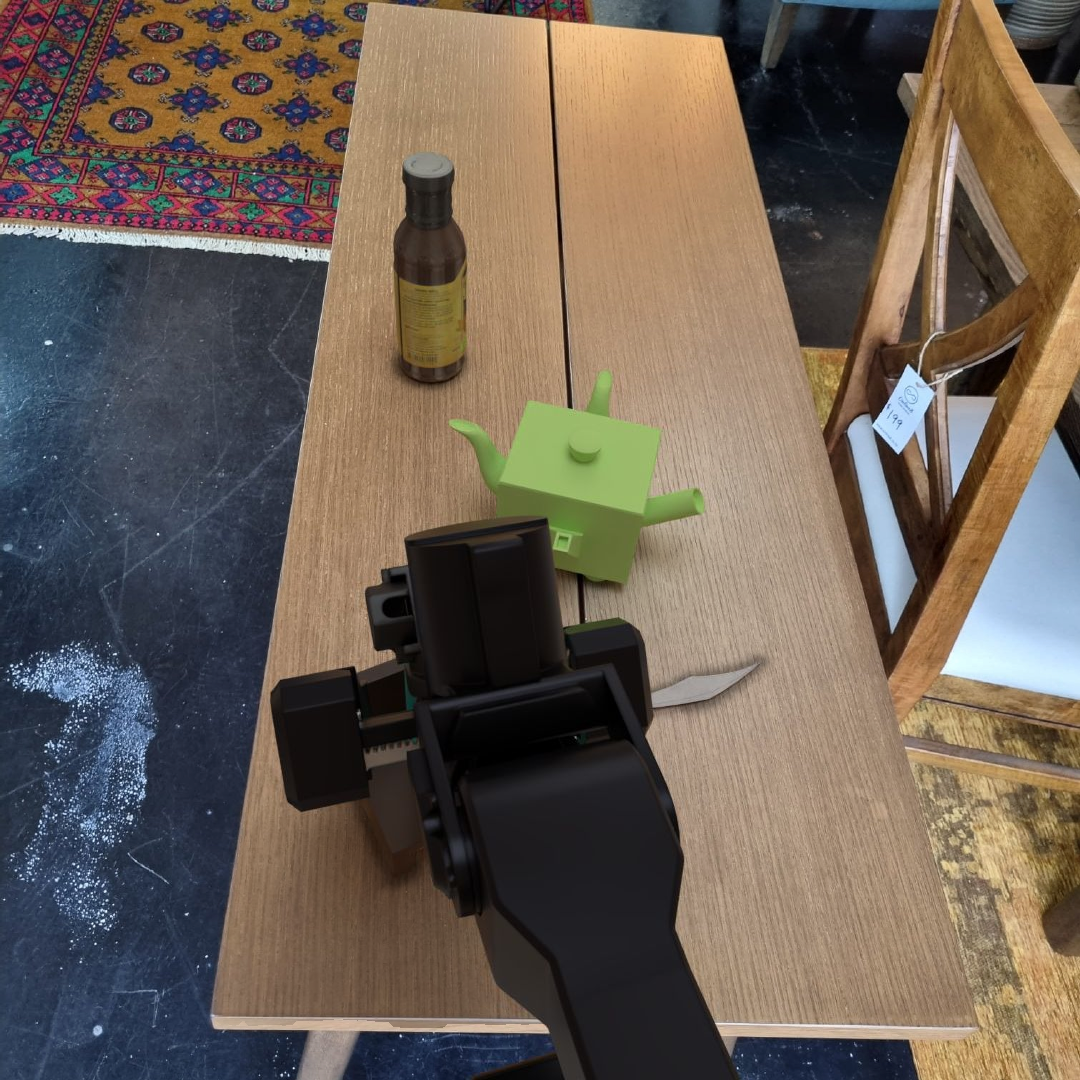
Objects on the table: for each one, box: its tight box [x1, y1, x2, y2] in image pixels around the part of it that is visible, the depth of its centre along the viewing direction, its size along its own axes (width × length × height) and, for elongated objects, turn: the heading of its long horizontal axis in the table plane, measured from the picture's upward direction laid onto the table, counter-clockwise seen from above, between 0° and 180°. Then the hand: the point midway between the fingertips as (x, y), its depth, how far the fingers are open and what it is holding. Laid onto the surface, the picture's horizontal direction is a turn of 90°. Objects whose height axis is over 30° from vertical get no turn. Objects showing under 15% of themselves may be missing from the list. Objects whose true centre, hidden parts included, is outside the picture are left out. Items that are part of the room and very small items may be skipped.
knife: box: [651, 661, 761, 709], centre depth 71 cm, size 19×2×1 cm, turn 103°
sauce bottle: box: [392, 151, 468, 383], centre depth 85 cm, size 6×6×20 cm
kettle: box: [448, 369, 706, 585], centre depth 76 cm, size 15×14×11 cm
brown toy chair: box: [356, 657, 425, 879], centre depth 63 cm, size 9×11×10 cm
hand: (442, 673), depth 58 cm, fingers open, 9 cm apart
